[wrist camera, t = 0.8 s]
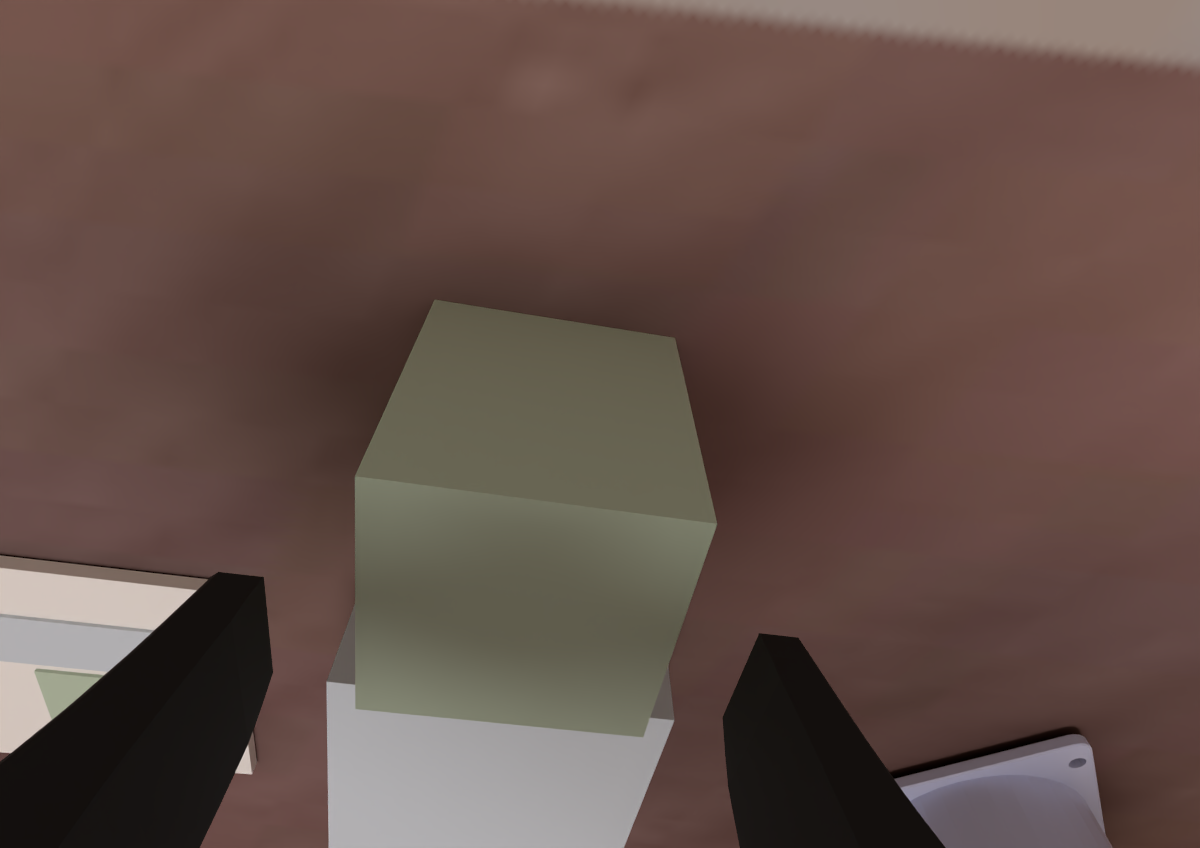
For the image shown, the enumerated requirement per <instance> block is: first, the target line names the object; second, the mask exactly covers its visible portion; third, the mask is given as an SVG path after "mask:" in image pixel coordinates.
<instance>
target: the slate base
mask: <svg viewBox="0 0 1200 848" xmlns="http://www.w3.org/2000/svg"><path fill="white" fill-rule="evenodd" d="M673 723H674V712H673V703H672V694H671V685H670V676H669V667H667V670H666V673H665V676H664V679H663V682H662V685H661V687H660V690H659V693H658V696H657V699H656V702H655V705H654V708H653V711H652V713H651V716H650V719H649V722H648V725H647V728H646V731H645V734H644V736H643V737H633V736H623V735H613V734H603V733H592V732H582V731H572V730H562V729H552V728H542V727H532V726H522V725H511V724H501V723H491V722H481V721H471V720H461V719H451V718H440V717H430V716H420V715H410V714H400V713H390V712H380V711H369V710H359V709H355V605H354V608H353V611H352V613H351V616H350V619H349V622H348V624H347V627H346V630H345V633H344V635H343V638H342V641H341V644H340V646H339V649H338V652H337V655H336V657H335V660H334V663H333V665H332V668H331V671H330V674H329V676H328V679H327V749H328V824H329V848H624V846H625V843H626V841H627V838H628V836H629V833H630V831H631V828H632V826H633V823H634V821H635V818H636V816H637V813H638V811H639V808H640V806H641V803H642V801H643V798H644V796H645V793H646V791H647V788H648V785H649V783H650V780H651V778H652V775H653V773H654V770H655V768H656V765H657V763H658V760H659V758H660V755H661V753H662V750H663V748H664V745H665V743H666V740H667V738H668V735H669V733H670V730H671V728H672V725H673Z"/></svg>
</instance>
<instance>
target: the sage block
mask: <svg viewBox="0 0 1200 848" xmlns="http://www.w3.org/2000/svg"><path fill="white" fill-rule="evenodd" d="M716 526H717V521H716V516H715V512H714V507H713V503H712V499H711V494H710V490H709V485H708V481H707V477H706V472H705V468H704V463H703V459H702V455H701V450H700V446H699V441H698V437H697V432H696V428H695V424H694V419H693V415H692V410H691V406H690V402H689V397H688V393H687V388H686V384H685V380H684V375H683V371H682V366H681V362H680V358H679V353H678V349H677V344H676V340H675V338H673V337H667V336H660V335H654V334H648V333H641V332H635V331H629V330H623V329H616V328H610V327H604V326H597V325H591V324H585V323H579V322H572V321H566V320H560V319H554V318H547V317H541V316H535V315H528V314H522V313H516V312H510V311H503V310H497V309H491V308H485V307H478V306H472V305H466V304H459V303H453V302H447V301H441V300H434V302H433V304H432V307H431V309H430V311H429V313H428V315H427V318H426V320H425V322H424V324H423V327H422V329H421V331H420V333H419V335H418V338H417V340H416V342H415V344H414V346H413V349H412V351H411V353H410V355H409V357H408V360H407V362H406V364H405V366H404V369H403V371H402V373H401V375H400V377H399V380H398V382H397V384H396V386H395V388H394V391H393V393H392V395H391V397H390V400H389V402H388V404H387V406H386V408H385V411H384V413H383V415H382V417H381V419H380V422H379V424H378V426H377V428H376V431H375V433H374V435H373V437H372V439H371V442H370V444H369V446H368V448H367V450H366V453H365V455H364V457H363V459H362V462H361V464H360V466H359V468H358V470H357V473H356V475H355V709H359V710H369V711H380V712H390V713H400V714H410V715H420V716H430V717H440V718H451V719H461V720H471V721H481V722H491V723H501V724H511V725H522V726H532V727H542V728H552V729H562V730H572V731H582V732H592V733H603V734H613V735H623V736H633V737H643V736H644V734H645V731H646V728H647V725H648V722H649V719H650V716H651V713H652V711H653V708H654V705H655V702H656V699H657V696H658V693H659V690H660V687H661V685H662V682H663V679H664V676H665V673H666V670H667V667H668V664H669V662H670V659H671V656H672V653H673V650H674V647H675V644H676V641H677V638H678V636H679V633H680V630H681V627H682V624H683V621H684V618H685V615H686V613H687V610H688V607H689V604H690V601H691V598H692V595H693V592H694V590H695V587H696V584H697V581H698V578H699V575H700V572H701V569H702V566H703V564H704V561H705V558H706V555H707V552H708V549H709V546H710V543H711V541H712V538H713V535H714V532H715V529H716Z"/></svg>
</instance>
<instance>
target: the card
mask: <svg viewBox="0 0 1200 848" xmlns="http://www.w3.org/2000/svg"><path fill="white" fill-rule="evenodd" d="M207 580H208V579H201V578H192V577H184V576H175V575H166V574H157V573H149V572H140V571H131V570H123V569H114V568H105V567H97V566H88V565H79V564H70V563H62V562H53V561H44V560H36V559H27V558H18V557H10V556H1V555H0V752H4V753H12V752H13V751H14V750H15V749H17V748H18V747H19V746H20V745H21V744H23V743H24V742H25V741H26V740H28V739H29V738H30V737H31V736H33V735H34V734H35V733H36V732H38V731H39V730H40V729H41V728H42V727H44V726H45V725H46V724H47V723H49V722H50V721H51V720H52V719H54V718H55V717H56V716H57V715H59V714H60V713H61V712H62V711H63V710H65V709H66V708H67V707H68V706H69V705H71V704H72V703H73V702H74V701H75V700H76V699H78V698H79V697H80V696H81V695H82V694H83V693H84V692H86V691H87V690H88V689H89V688H90V687H91V686H92V685H94V684H95V683H96V682H97V681H98V680H99V679H100V678H102V677H103V676H104V675H105V674H106V673H107V672H108V671H110V670H111V669H112V668H113V667H114V666H115V665H116V664H118V663H119V662H120V661H121V660H122V659H123V658H124V657H126V656H127V655H128V654H129V653H130V652H131V651H132V650H133V649H134V648H136V647H137V646H138V645H139V644H140V643H141V642H142V641H143V640H144V639H145V638H146V637H148V636H149V635H150V634H151V633H152V632H153V631H154V630H155V629H156V628H157V627H158V626H160V625H161V624H162V623H163V622H164V621H165V620H166V619H167V618H168V617H169V616H170V615H171V614H172V613H173V612H174V611H176V610H177V609H178V608H179V607H180V606H181V605H182V604H183V603H184V602H185V601H186V600H187V599H188V598H189V597H190V596H191V595H192V594H193V593H195V592H196V591H197V590H198V589H199V588H200V587H201V586H202V585H203V584H204V583H205V582H206V581H207ZM256 764H257V758H256V750H255V742H254V734H253V732H252V735H251V738H250V741H249V743H248V746H247V748H246V750H245V752H244V754H243V757H242V759H241V761H240V763H239V765H238V767H237V770H236V772H235V773H242V774H252V773H253V771H254V769H255V766H256Z"/></svg>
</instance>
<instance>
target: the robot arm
mask: <svg viewBox="0 0 1200 848" xmlns="http://www.w3.org/2000/svg"><path fill="white" fill-rule="evenodd" d="M272 674H273V669H272V658H271V648H270V638H269V627H268V617H267V607H266V596H265V586H264V577H257V576H248V575H240V574H231V573H222V572H218V573H216V574H215V575H213V576H212V577H210V578H209V579H208V580H207V581H206V582H205V583H204V584H203V585H202V586H201V587H200V588H199V589H198V590H197V591H196V592H195V593H193V594H192V595H191V596H190V597H189V598H188V599H187V600H186V601H185V602H184V603H183V604H182V605H181V606H180V607H179V608H178V609H177V610H176V611H174V612H173V613H172V614H171V615H170V616H169V617H168V618H167V619H166V620H165V621H164V622H163V623H162V624H161V625H160V626H158V627H157V628H156V629H155V630H154V631H153V632H152V633H151V634H150V635H149V636H148V637H146V638H145V639H144V640H143V641H142V642H141V643H140V644H139V645H138V646H137V647H136V648H134V649H133V650H132V651H131V652H130V653H129V654H128V655H127V656H126V657H124V658H123V659H122V660H121V661H120V662H119V663H118V664H116V665H115V666H114V667H113V668H112V669H111V670H110V671H108V672H107V673H106V674H105V675H104V676H103V677H102V678H100V679H99V680H98V681H97V682H96V683H95V684H94V685H92V686H91V687H90V688H89V689H88V690H87V691H86V692H84V693H83V694H82V695H81V696H80V697H79V698H78V699H76V700H75V701H74V702H73V703H72V704H71V705H69V706H68V707H67V708H66V709H65V710H63V711H62V712H61V713H60V714H59V715H57V716H56V717H55V718H54V719H52V720H51V721H50V722H49V723H47V724H46V725H45V726H44V727H42V728H41V729H40V730H39V731H38V732H36V733H35V734H34V735H33V736H31V737H30V738H29V739H28V740H26V741H25V742H24V743H23V744H21V745H20V746H19V747H18V748H17V749H15V750H14V751H13V752H12V753H10V754H9V755H8V756H7V757H5V758H4V759H3V760H2V761H0V848H200V846H201V844H202V841H203V839H204V837H205V835H206V833H207V831H208V829H209V827H210V825H211V823H212V820H213V818H214V816H215V814H216V812H217V810H218V808H219V806H220V804H221V802H222V799H223V797H224V795H225V793H226V791H227V789H228V787H229V784H230V782H231V780H232V778H233V776H234V774H235V772H236V770H237V767H238V765H239V763H240V761H241V759H242V757H243V754H244V752H245V750H246V748H247V746H248V743H249V741H250V738H251V735H252V732H253V729H254V727H255V724H256V721H257V718H258V715H259V713H260V710H261V707H262V704H263V701H264V698H265V695H266V692H267V689H268V686H269V683H270V680H271V677H272ZM723 728H724V742H725V756H726V766H727V777H728V787H729V793H730V798H731V803H732V809H733V814H734V819H735V824H736V829H737V834H738V840H739V845H740V848H1113V847H1112V845H1111V844H1110V842H1109V840H1108V838H1107V837H1106V835H1105V828H1104V822H1103V815H1102V809H1101V803H1100V796H1099V790H1098V783H1097V777H1096V770H1095V764H1094V758H1093V751H1092V748H1091V746H1090V745H1089V743H1088V741H1087V740H1086V738H1085V737H1084V736H1082V735H1079V734H1069V735H1065V736H1061V737H1057V738H1053V739H1049V740H1045V741H1041V742H1037V743H1033V744H1029V745H1025V746H1021V747H1017V748H1013V749H1010V750H1006V751H1002V752H998V753H994V754H990V755H986V756H982V757H978V758H974V759H970V760H966V761H962V762H958V763H954V764H951V765H947V766H943V767H939V768H935V769H931V770H927V771H923V772H919V773H915V774H911V775H907V776H903V777H899V778H895V779H894V778H893V777H892V775H891V774H890V773H889V771H888V770H887V768H886V767H885V766H884V764H883V763H882V761H881V760H880V759H879V757H878V756H877V754H876V753H875V751H874V750H873V749H872V747H871V746H870V744H869V743H868V741H867V740H866V739H865V737H864V736H863V734H862V733H861V731H860V730H859V728H858V727H857V725H856V724H855V722H854V721H853V719H852V718H851V716H850V715H849V713H848V712H847V710H846V709H845V708H844V706H843V705H842V703H841V702H840V700H839V699H838V697H837V695H836V694H835V692H834V691H833V689H832V688H831V686H830V685H829V683H828V682H827V680H826V679H825V677H824V676H823V674H822V673H821V671H820V670H819V668H818V667H817V665H816V664H815V662H814V661H813V659H812V658H811V656H810V655H809V653H808V652H807V650H806V649H805V647H804V646H803V644H802V643H801V641H800V640H799V638H795V637H786V636H778V635H769V634H760V633H759V635H758V638H757V640H756V642H755V645H754V647H753V649H752V651H751V654H750V656H749V658H748V661H747V663H746V665H745V667H744V670H743V672H742V674H741V677H740V679H739V681H738V684H737V686H736V688H735V690H734V693H733V695H732V697H731V700H730V702H729V704H728V706H727V709H726V711H725V713H724V716H723Z"/></svg>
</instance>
